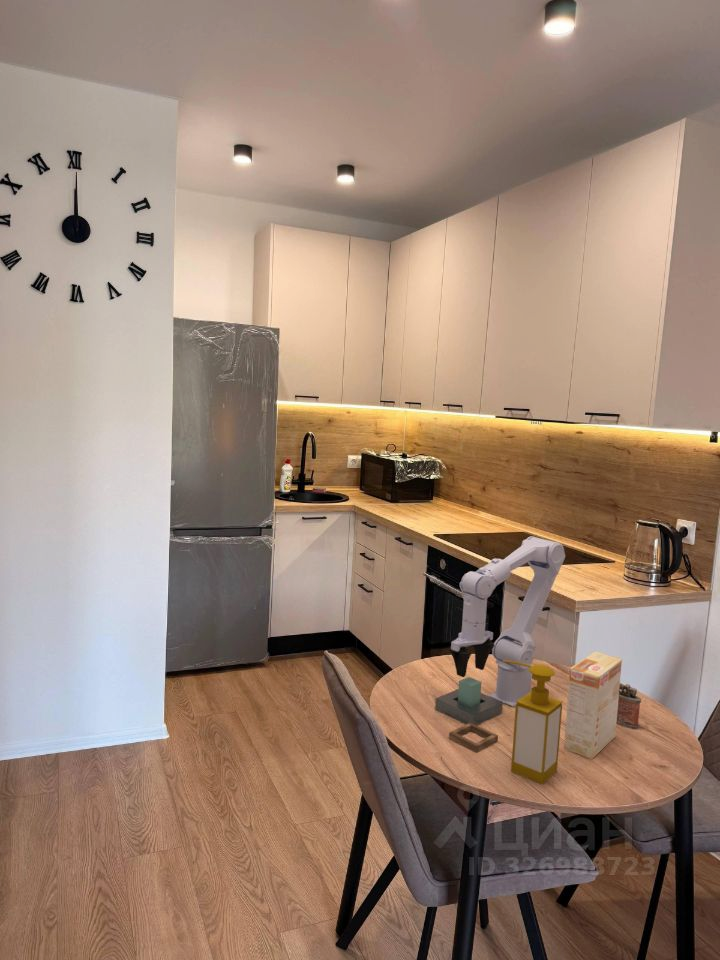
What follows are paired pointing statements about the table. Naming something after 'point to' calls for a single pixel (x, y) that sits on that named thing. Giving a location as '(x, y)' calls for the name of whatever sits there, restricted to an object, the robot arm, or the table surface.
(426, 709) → the table surface
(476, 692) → the teal peg
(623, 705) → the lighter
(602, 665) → the coffeecake box
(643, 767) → the table surface
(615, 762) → the table surface
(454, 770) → the table surface
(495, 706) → the socket block
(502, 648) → the robot arm
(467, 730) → the stand frame
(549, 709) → the soap bottle
